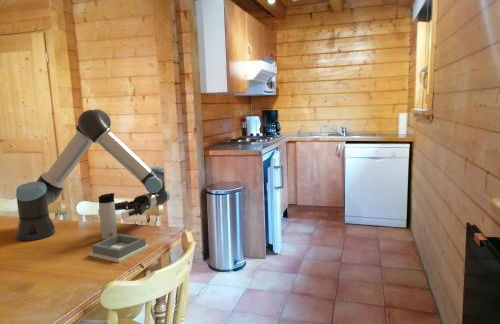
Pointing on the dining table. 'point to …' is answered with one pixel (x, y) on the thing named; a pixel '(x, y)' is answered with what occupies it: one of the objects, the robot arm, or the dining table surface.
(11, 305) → the dining table surface
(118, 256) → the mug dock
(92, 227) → the dining table surface
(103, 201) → the travel mug
